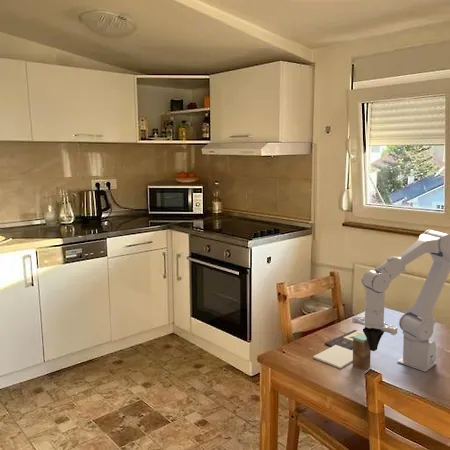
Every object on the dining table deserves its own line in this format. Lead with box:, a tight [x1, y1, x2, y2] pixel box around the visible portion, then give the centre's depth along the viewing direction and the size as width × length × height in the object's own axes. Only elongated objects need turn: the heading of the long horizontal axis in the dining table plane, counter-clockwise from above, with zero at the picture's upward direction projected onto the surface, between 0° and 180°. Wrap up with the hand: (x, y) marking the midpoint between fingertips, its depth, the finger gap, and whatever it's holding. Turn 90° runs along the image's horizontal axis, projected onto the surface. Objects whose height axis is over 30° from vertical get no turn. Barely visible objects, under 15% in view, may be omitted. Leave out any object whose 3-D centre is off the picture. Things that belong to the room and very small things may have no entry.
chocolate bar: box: [324, 329, 365, 350], centre depth 168 cm, size 9×1×18 cm
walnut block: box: [352, 334, 372, 371], centre depth 148 cm, size 4×4×10 cm
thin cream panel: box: [312, 345, 353, 370], centre depth 155 cm, size 11×13×1 cm
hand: (373, 349), depth 144 cm, fingers closed
